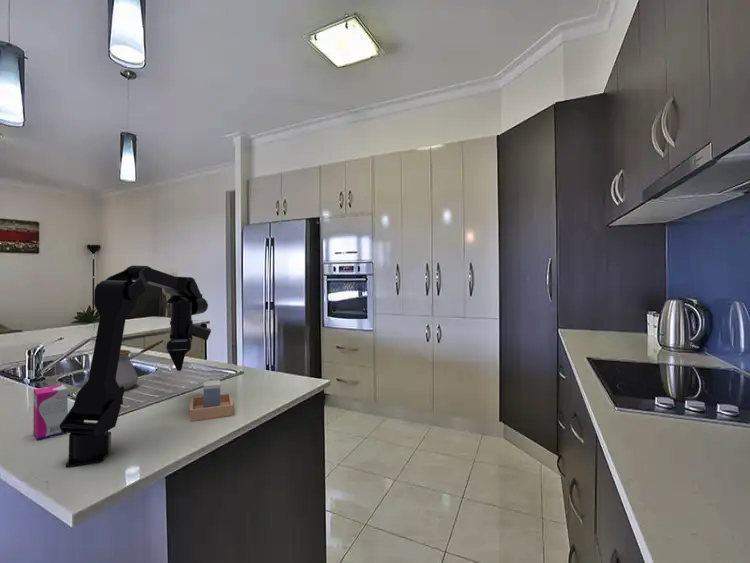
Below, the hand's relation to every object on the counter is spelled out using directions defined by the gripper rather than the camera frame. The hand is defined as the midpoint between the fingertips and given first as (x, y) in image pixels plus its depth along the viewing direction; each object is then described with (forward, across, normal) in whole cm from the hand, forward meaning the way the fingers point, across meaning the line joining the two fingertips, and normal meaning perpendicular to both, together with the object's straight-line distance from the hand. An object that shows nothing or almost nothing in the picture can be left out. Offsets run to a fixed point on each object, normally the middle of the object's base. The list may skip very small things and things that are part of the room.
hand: (180, 366), depth 110 cm
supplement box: (+12, -10, +28) cm, 32 cm away
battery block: (+11, -9, -9) cm, 17 cm away
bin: (+12, -9, -9) cm, 17 cm away
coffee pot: (+12, +28, +16) cm, 35 cm away
